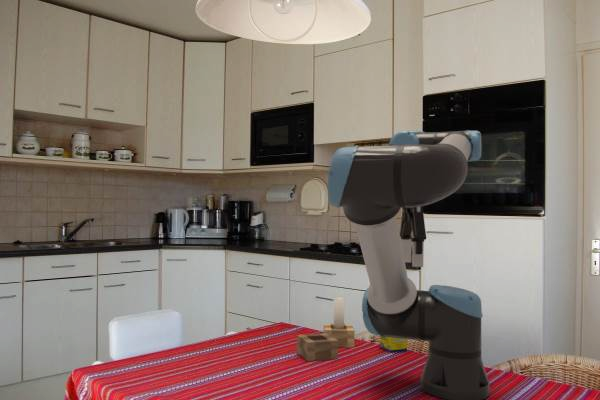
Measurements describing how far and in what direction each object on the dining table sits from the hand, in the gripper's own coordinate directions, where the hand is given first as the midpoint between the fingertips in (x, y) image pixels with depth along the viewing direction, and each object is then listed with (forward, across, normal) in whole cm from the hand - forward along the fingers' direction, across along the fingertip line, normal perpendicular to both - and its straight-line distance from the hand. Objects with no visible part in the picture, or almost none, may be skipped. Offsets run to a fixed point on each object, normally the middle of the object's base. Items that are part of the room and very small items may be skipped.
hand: (411, 264), depth 139 cm
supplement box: (+27, +12, +2) cm, 29 cm away
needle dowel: (+26, +18, +18) cm, 37 cm away
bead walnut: (+27, +5, +25) cm, 37 cm away
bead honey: (+26, +19, +18) cm, 37 cm away
